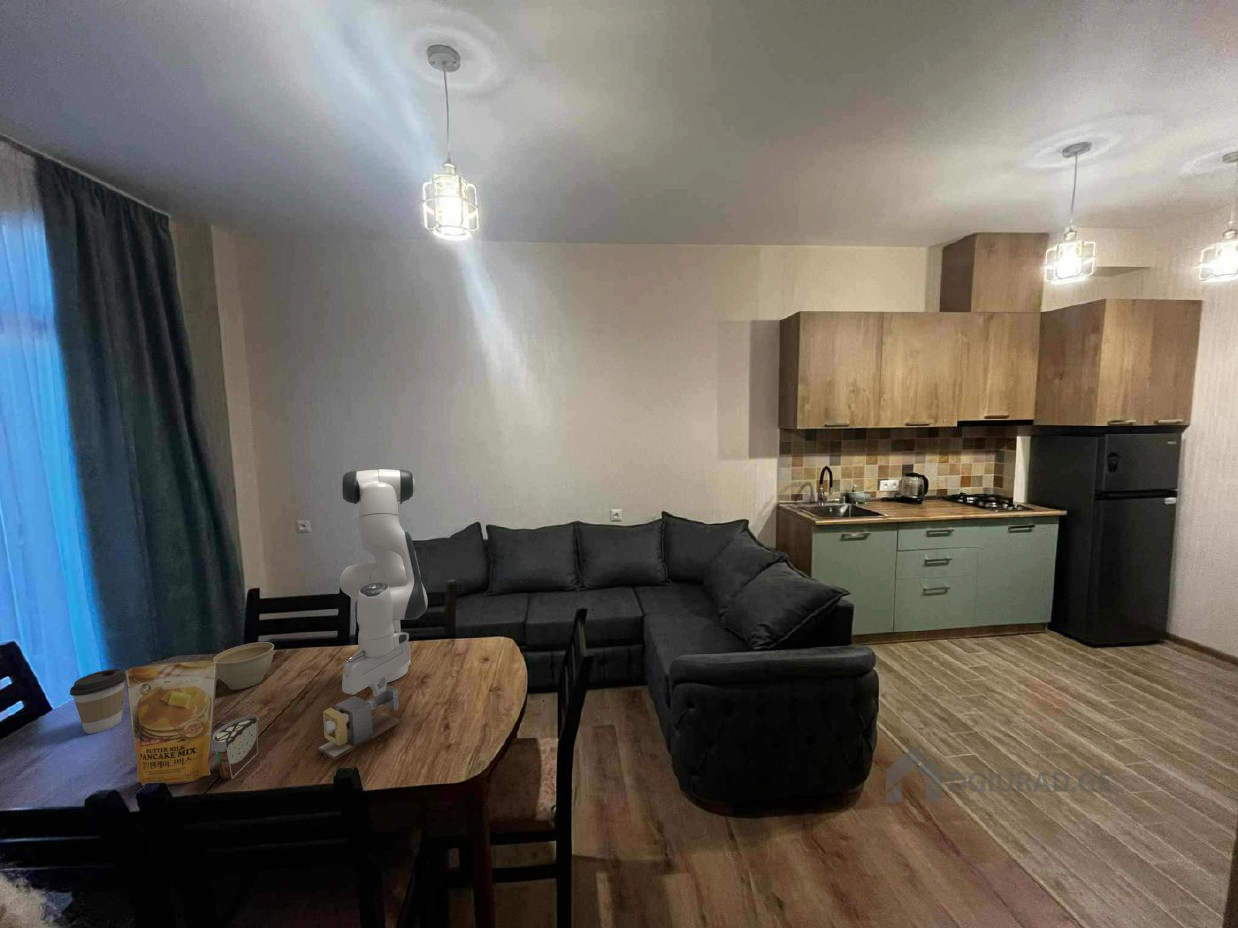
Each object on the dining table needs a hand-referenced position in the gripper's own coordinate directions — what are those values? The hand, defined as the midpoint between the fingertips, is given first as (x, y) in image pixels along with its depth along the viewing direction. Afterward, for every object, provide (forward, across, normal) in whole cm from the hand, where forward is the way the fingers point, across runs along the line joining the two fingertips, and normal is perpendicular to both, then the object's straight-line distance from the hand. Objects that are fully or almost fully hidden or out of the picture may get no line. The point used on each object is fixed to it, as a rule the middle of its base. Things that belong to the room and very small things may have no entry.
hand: (379, 693), depth 131 cm
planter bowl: (+11, +9, +68) cm, 69 cm away
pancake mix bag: (+12, -28, +36) cm, 47 cm away
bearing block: (+11, -4, +5) cm, 13 cm away
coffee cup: (+11, -21, +83) cm, 86 cm away
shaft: (+7, -2, +5) cm, 9 cm away
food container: (+12, -22, +26) cm, 36 cm away
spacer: (+5, -9, +6) cm, 12 cm away
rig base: (+11, -2, +5) cm, 12 cm away
